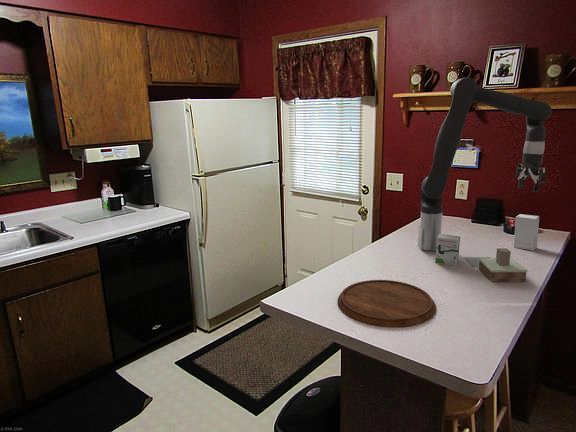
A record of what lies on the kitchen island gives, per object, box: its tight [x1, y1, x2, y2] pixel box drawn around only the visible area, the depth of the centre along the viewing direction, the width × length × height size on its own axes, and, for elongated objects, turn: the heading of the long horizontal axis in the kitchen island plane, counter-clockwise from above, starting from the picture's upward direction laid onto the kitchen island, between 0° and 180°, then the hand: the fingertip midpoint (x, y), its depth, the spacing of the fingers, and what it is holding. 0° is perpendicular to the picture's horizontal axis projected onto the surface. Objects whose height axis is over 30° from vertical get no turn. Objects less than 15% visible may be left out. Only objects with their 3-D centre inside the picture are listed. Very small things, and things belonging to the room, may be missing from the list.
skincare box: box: [513, 213, 540, 251], centre depth 186 cm, size 8×6×15 cm
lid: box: [479, 247, 528, 273], centre depth 155 cm, size 12×12×6 cm
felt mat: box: [462, 256, 491, 268], centre depth 171 cm, size 11×11×1 cm
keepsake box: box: [478, 262, 527, 283], centre depth 156 cm, size 12×12×4 cm
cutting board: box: [337, 279, 437, 329], centre depth 139 cm, size 32×32×2 cm
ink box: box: [434, 233, 461, 267], centre depth 170 cm, size 9×5×12 cm, turn 62°
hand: (528, 190), depth 178 cm, fingers open, 8 cm apart
